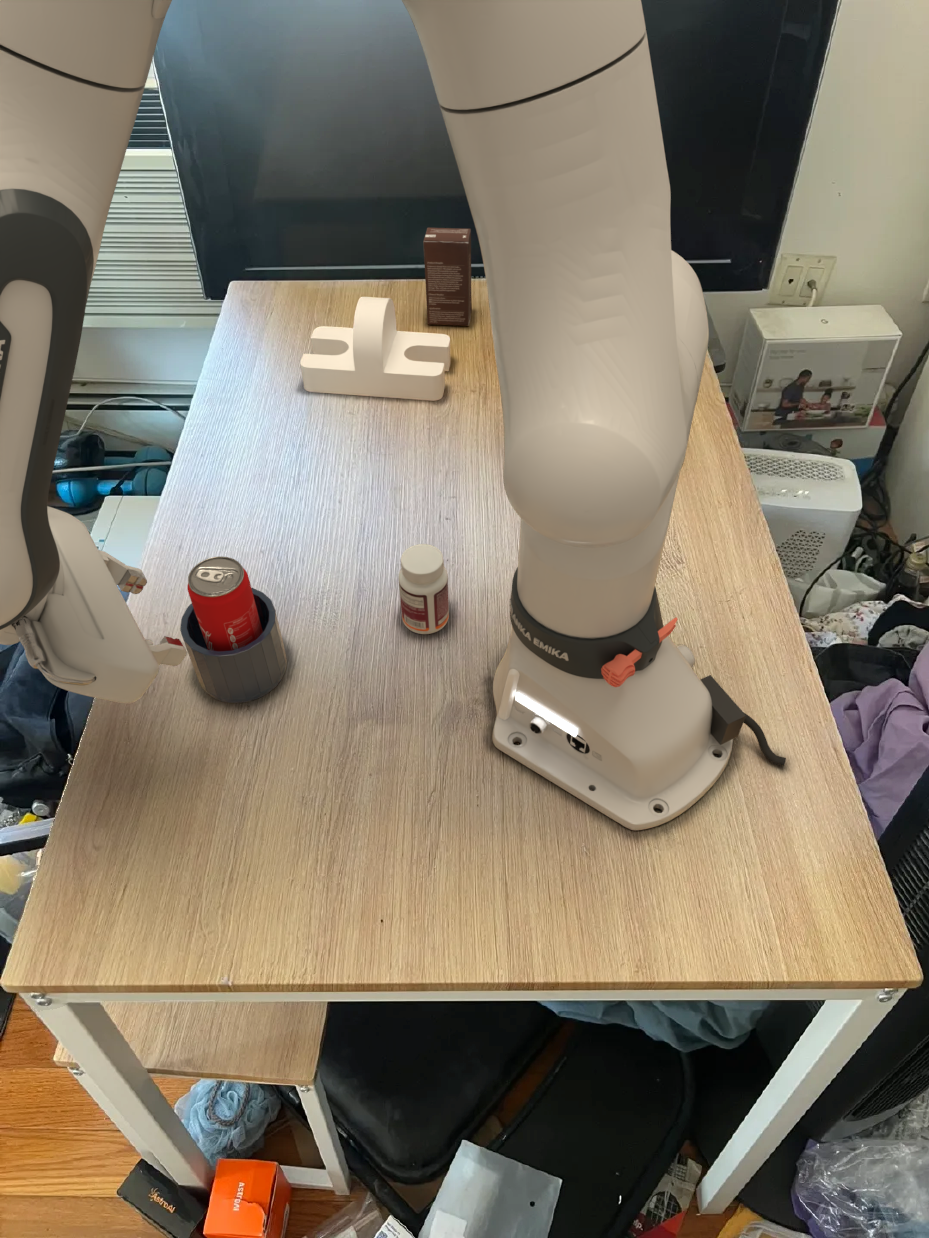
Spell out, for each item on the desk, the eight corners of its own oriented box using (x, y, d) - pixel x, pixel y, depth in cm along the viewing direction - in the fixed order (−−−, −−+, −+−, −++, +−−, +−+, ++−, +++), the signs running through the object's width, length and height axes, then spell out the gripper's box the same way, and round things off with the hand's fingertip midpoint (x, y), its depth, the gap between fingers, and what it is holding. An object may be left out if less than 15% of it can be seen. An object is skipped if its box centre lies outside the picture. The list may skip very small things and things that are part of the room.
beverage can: (257, 689, 85) (232, 602, 75) (205, 679, 85) (174, 592, 76) (277, 647, 88) (255, 559, 79) (227, 637, 89) (200, 550, 80)
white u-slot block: (441, 401, 115) (439, 328, 107) (302, 391, 116) (290, 319, 109) (451, 358, 121) (450, 287, 113) (319, 349, 123) (309, 278, 115)
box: (471, 310, 129) (472, 227, 120) (468, 327, 126) (469, 243, 117) (429, 308, 129) (426, 225, 120) (425, 325, 126) (422, 241, 117)
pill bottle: (439, 594, 93) (437, 535, 87) (455, 627, 90) (455, 568, 84) (395, 607, 92) (389, 548, 86) (410, 641, 89) (406, 582, 83)
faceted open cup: (304, 669, 87) (293, 621, 82) (229, 718, 83) (213, 671, 78) (254, 620, 91) (241, 571, 86) (181, 665, 87) (162, 617, 82)
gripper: (59, 643, 60) (227, 671, 71) (-17, 472, 71) (138, 519, 82) (15, 712, 62) (186, 729, 72) (-52, 535, 73) (104, 572, 84)
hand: (160, 616), depth 77 cm, fingers open, 8 cm apart
